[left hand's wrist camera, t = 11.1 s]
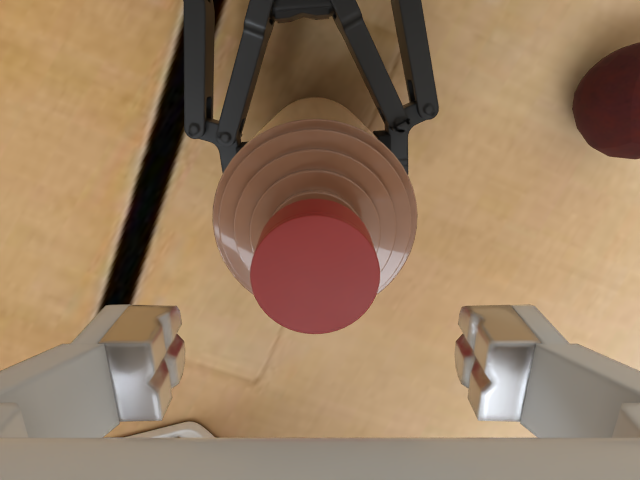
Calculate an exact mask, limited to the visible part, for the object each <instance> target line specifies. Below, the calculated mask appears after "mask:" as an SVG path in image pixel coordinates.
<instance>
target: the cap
mask: <svg viewBox="0 0 640 480" xmlns="http://www.w3.org/2000/svg"><path fill="white" fill-rule="evenodd" d="M250 281H251V287H252V291H253V293H254V296H255V298H256V300H257V302H258V304H259V305H260V307H261V308H262V309H263V311H264V312H265V313H266V314H267V315H268V316H269V317H270V318H272V319H273V320H274V321H275V322H277V323H278V324H280V325H282V326H284V327H286V328H288V329H290V330H294V331H297V332H301V333H308V334H323V333H329V332H333V331H337V330H339V329H342V328H345V327H346V326H348V325H350V324H352V323H353V322H355V321H356V320H358V319H359V318H360V317H361V316H362V315H363V314H364V313H365V312H366V311H367V310H368V308H369V307H370V305H371V304H372V302H373V301H374V298H375V296H376V294H377V291H378V288H379V283H380V266H379V261H378V257H377V254H376V251H375V248H374V246H373V243H372V240H371V237H370V234H369V232H368V230H367V228H366V226H365V225H364V223H363V222H362V220H361V219H360V218H359V217H358V216H357V215H356V214H355V213H354V212H353V211H351V210H350V209H348V208H347V207H345V206H343V205H341V204H339V203H336V202H334V201H330V200H325V199H306V200H300V201H297V202H294V203H291V204H289V205H287V206H285V207H284V208H282V209H280V210H279V211H278V212H277V213H275V214H274V215H273V216H272V217H271V218H270V219H269V221H268V222H267V224H266V225H265V227H264V228H263V230H262V232H261V235H260V238H259V241H258V244H257V247H256V250H255V252H254V255H253V258H252V262H251V267H250Z"/></svg>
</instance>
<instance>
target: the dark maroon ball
mask: <svg viewBox="0 0 640 480" xmlns="http://www.w3.org/2000/svg"><path fill="white" fill-rule="evenodd" d="M572 110H573V114H574V118H575V122H576V126H577V129H578V130H579V132H580V133H581V134H582V136H583V137H584V139H585V140H586V142H587V143H588V144H589V145H590V146H591V147H593V148H595V149H596V150H598V151H600V152H602V153H604V154H606V155H607V156H610V157H619V158H628V159H639V158H640V43H636V44H633V45H630V46H627V47H624V48H621V49H619V50H616V51H614V52H613V53H611V54H610V55H608V56H606V57H605V58H603V59H602V60H600V61H599V62H598V63H597V64H596V65H595V66H593V67H592V68H591V69H590V70H589V71H588V72H587V74H586V75H585V76H584V77H583V79H582V80H581V81H580V83H579V85H578V87H577V90H576V92H575V94H574V101H573V108H572Z"/></svg>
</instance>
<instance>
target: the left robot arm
mask: <svg viewBox="0 0 640 480" xmlns="http://www.w3.org/2000/svg"><path fill="white" fill-rule="evenodd" d="M181 325H182V321H181V315H180V310H179V309H178V307H177V306H156V305H107V306H105V307H104V308H103V309H102V310H101V311H100V312H99V313H98V314H97V316H96V317H95V318H94V319H93V320H92V321H91V322H90V323H89V324H88V325H87V326H86V327H85V328H84V330H83V331H82V332H81V333H80V334H79V335H78V336H77V337H76V338H75V339H74V340H73V341H72V342H71V343H70V344H61V345H59V346H57V347H54V348H52V349H50V350H47V351H45V352H43V353H40V354H38V355H36V356H34V357H31V358H29V359H27V360H24V361H22V362H20V363H18V364H15V365H13V366H11V367H8V368H6V369H4V370H1V371H0V480H640V371H638V370H636V369H634V368H632V367H629V366H627V365H625V364H622V363H620V362H618V361H615V360H613V359H611V358H609V357H606V356H604V355H602V354H599V353H597V352H595V351H593V350H590V349H588V348H586V347H583V346H581V345H579V344H570V343H569V342H568V341H567V340H566V339H565V338H564V337H563V336H562V335H561V334H560V333H559V332H558V331H557V330H556V328H555V327H554V326H553V325H552V324H551V323H550V322H549V321H548V320H547V319H546V318H545V317H544V316H543V314H542V313H541V312H540V311H539V310H538V309H537V308H536V307H535V306H533V305H530V304H529V305H487V306H464V307H462V308H461V311H460V314H459V321H458V325H459V327H460V328H461V330H462V332H463V334H462V335H461V336H460V337H459V339H458V340H457V341H456V346H455V365H456V370H457V374H458V377H459V380H460V382H461V384H463V385H464V386H466V387H467V388H468V389H469V391H468V400H469V402H470V404H471V406H472V408H473V410H474V413H475V415H476V417H477V419H478V420H480V421H517V422H520V424H522V425H523V426H524V427H525V428H527V429H528V430H529V431H530V432H531V433H533V434H534V435H535V436H536V437H538V438H215V437H214V436H213V435H212V434H211V433H210V432H209V431H208V430H206V429H205V428H204V427H203V426H201V425H200V424H198V423H196V422H183V423H179V424H175V425H171V426H167V427H163V428H159V429H155V430H152V431H148V432H144V433H140V434H136V435H132V436H128V437H124V438H103V437H104V436H105V435H106V434H108V433H109V432H110V431H111V430H112V429H114V428H115V427H116V426H117V425H119V424H120V423H119V422H123V421H158V420H162V419H163V417H164V415H165V413H166V410H167V408H168V406H169V404H170V402H171V400H172V391H171V389H172V388H173V387H174V386H176V385H177V384H179V382H180V380H181V377H182V375H183V370H184V365H185V345H184V341H183V340H182V339H181V338H180V336H179V335H178V334H177V332H178V330H179V328H180V327H181ZM177 436H178V437H177ZM179 437H181V438H179Z"/></svg>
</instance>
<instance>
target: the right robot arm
mask: <svg viewBox="0 0 640 480" xmlns="http://www.w3.org/2000/svg"><path fill="white" fill-rule="evenodd" d="M183 1H184V129H185V133H186V134H187V136H189V137H190V138H193V139H202V140H205V141H209V142H212V143H213V144H215V145H216V146H217V148H218V150H219V153H220V159H221V165H222V172H223V173H224V171H225V169H226V168H227V166H228V164H229V163H230V161H231V160H232V159H233V157H234V156H235V155H236V154H237V153H238V152H239V151H240V149H241V148H242V147H243V146H244V145H245V144H247V143H248V142H242V143H241V137H242V135H243V134H242V130H243V127H244V123H245V120H246V116H247V113H248V109H249V106H250V102H251V99H252V95H253V92H254V88H255V85H256V81H257V78H258V74H259V71H260V67H261V64H262V60H263V57H264V53H265V50H266V46H267V43H268V40H269V38H270V35H271V32H272V29H273V25H274V22H275V21H277V22H278V23H284V22H292V21H294V20H297V19H299V18H302V17H306V18H311V19H316V20H318V19H329V17H330V16H332V17H333V19H334V21H335V23H336V25H337V27H338V29H339V31H340V32H341V34H342V36H343V38H344V40H345V42H346V44H347V46H348V48H349V51H350V53H351V55H352V57H353V59H354V61H355V63H356V65H357V67H358V69H359V71H360V74H361V76H362V78H363V80H364V82H365V84H366V86H367V88H368V90H369V92H370V94H371V96H372V99H373V101H374V103H375V105H376V107H377V109H378V111H379V113H380V115H381V117H382V119H383V121H384V124H385V130H383V131H373V134H374V135H375V136H376V137H377V138H378V139H379V140H380V141H381V142H382V143H383V144H384V145H385V146H386V147H387V148H388V149H389V150H390V151H391V152H392V153H393V154H394V155H395V156H396V158H397V159H398V160H399V162H400V163H401V164H402V166H403V168H404V169H405V171H406V173H407V175H408V133H409V131H410V129H411V128H412V127H413V126H414V125H416V124H418V123H420V122H423V121H425V120H428V119H432V118H434V117H435V116H436V115H437V113H438V110H439V106H438V100H437V94H436V88H435V82H434V76H433V70H432V64H431V58H430V52H429V46H428V40H427V33H426V27H425V21H424V15H423V9H422V3H421V0H391V4H392V10H393V15H394V21H395V26H396V31H397V37H398V42H399V48H400V53H401V58H402V64H403V69H404V74H405V80H406V85H407V91H408V96H409V101H410V103H408V104H406V105H403V106H402V103H401V101H400V99H399V97H398V95H397V92H396V90H395V88H394V86H393V84H392V82H391V79H390V77H389V75H388V73H387V71H386V69H385V66H384V64H383V62H382V60H381V58H380V55H379V53H378V51H377V49H376V47H375V45H374V42H373V40H372V38H371V36H370V34H369V32H368V29H367V27H366V25H365V23H364V21H363V18H362V14H361V11H360V9H359V7H358V5H357V2H356V0H250V2H249V6H248V9H247V13H246V17H245V21H244V30H243V34H242V38H241V42H240V45H239V49H238V53H237V57H236V60H235V64H234V68H233V72H232V75H231V79H230V83H229V87H228V90H227V94H226V98H225V102H224V105H223V109H222V113H221V117H220V120H219V121H218V120H214V119H213V80H214V6H213V0H183Z"/></svg>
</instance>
